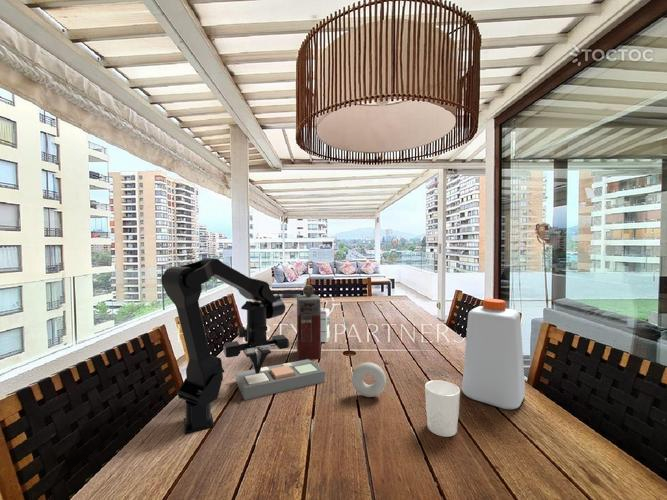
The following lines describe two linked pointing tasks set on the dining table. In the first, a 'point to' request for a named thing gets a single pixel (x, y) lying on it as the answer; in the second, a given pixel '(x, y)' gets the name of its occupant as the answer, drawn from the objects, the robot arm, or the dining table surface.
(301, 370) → the sage key
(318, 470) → the dining table surface
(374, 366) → the donut
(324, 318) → the syrup box
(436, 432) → the white cup
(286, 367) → the terracotta key
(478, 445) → the dining table surface
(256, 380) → the ivory key
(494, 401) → the plastic bottle
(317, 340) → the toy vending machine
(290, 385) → the keypad
